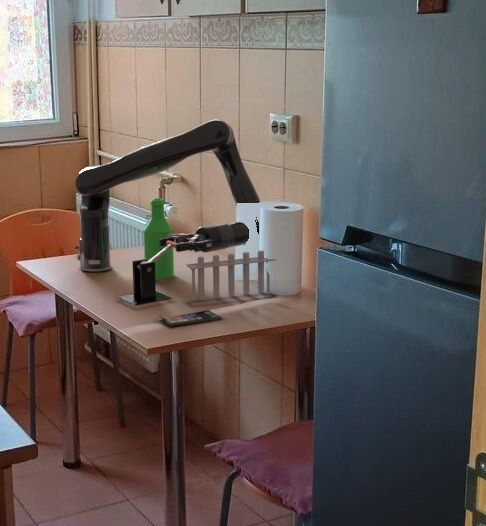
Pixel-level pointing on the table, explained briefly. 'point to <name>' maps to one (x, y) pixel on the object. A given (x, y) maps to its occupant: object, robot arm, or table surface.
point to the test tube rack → (229, 274)
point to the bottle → (153, 234)
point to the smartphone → (190, 318)
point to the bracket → (144, 284)
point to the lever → (161, 252)
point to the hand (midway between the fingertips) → (168, 245)
